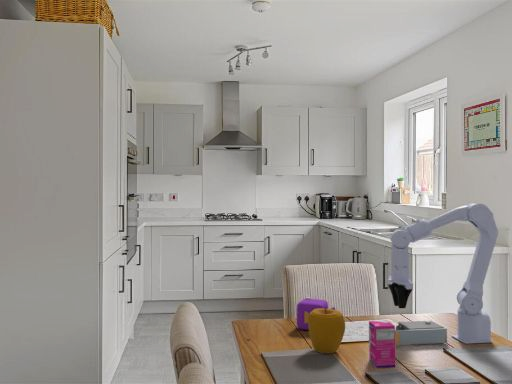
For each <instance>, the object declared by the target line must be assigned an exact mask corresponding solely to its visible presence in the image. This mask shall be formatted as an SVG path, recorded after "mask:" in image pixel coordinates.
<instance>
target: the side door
mask: <svg viewBox="0 0 512 384" xmlns="http://www.w3.org/2000/svg"><path fill="white" fill-rule="evenodd" d="M428 343H437V344H447V343H448V328H446V327H444V328H438V329H414V330H396V329H395V346H402V345H403V346H404V345H405V346H406V345H409V344H416V345H429V344H428Z"/></svg>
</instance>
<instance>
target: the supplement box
mask: <svg viewBox="0 0 512 384" xmlns="http://www.w3.org/2000/svg"><path fill="white" fill-rule="evenodd" d="M395 330H396V325H394V324H393V323H392V322H391V321H389V320H388V319H386V320H385V319H382V320H368V360H369V362H370V363H371V364H372V365H373V367H374V368H375V369H379V368H380V369H382V368H383V369H385V368H386V369H387V368H396V365H397V364H396V345H395Z"/></svg>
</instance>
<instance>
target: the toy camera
mask: <svg viewBox="0 0 512 384" xmlns="http://www.w3.org/2000/svg"><path fill="white" fill-rule="evenodd" d="M317 308H323V309H324V308H326V309H329V303H328V301H327V300H325V299H320V298H319V299H315V298H311V297H310V296H308V297H307V296H306V297H305V298H304V299H302V300H300V301H299V302H298V303H297V305H296V327H297V328H298V330H299V329H300V330H303V331H304V330H305V331H309V327H308V316H309V314H310V312H312V311H313V310H314V309H317ZM330 309H333V310H336V307H334V306H333V307H330Z"/></svg>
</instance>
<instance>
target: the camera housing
mask: <svg viewBox="0 0 512 384" xmlns="http://www.w3.org/2000/svg"><path fill="white" fill-rule="evenodd" d="M397 323H398V324H397V325H395V330H414V329H438V328H445V327H444V326H443V325H441V324H438V323H436V322H435V321H432V320H415V321H412V320H411V321H398V322H397ZM433 344H438V343H428V344H427V345H433ZM408 345H409V346H410V345H413V346H414V345H415V346H416V345H417V344H408Z"/></svg>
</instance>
